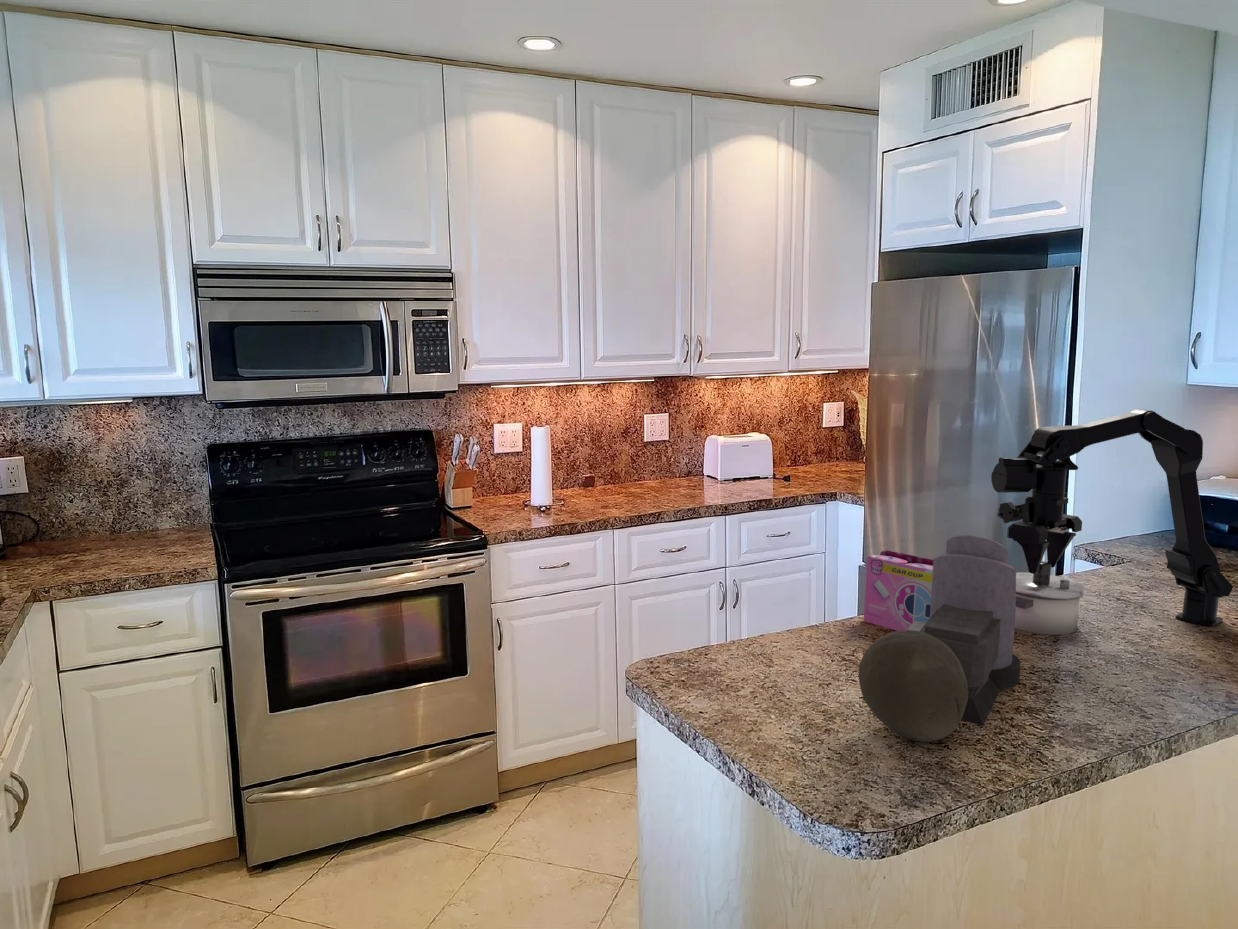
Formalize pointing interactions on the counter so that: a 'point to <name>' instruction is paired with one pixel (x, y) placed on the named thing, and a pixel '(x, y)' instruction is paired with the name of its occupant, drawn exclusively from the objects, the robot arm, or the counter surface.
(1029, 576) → the cooker lid
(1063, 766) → the counter surface
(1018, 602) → the cooker pot
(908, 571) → the pink product box
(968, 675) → the juicer
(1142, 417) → the robot arm
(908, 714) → the cantaloupe
